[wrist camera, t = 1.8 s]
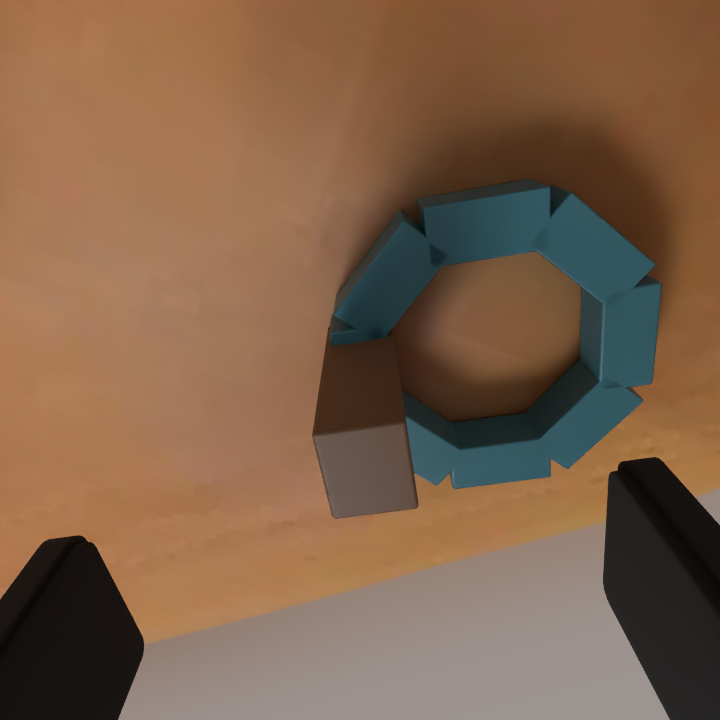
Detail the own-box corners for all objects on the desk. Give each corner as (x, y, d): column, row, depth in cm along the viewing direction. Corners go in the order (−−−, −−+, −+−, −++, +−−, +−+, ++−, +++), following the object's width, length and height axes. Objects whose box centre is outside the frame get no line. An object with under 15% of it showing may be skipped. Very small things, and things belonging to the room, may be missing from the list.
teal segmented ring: (642, 159, 14) (821, 190, 9) (622, 437, 18) (736, 577, 12) (305, 216, 15) (272, 279, 9) (358, 471, 19) (356, 619, 13)
